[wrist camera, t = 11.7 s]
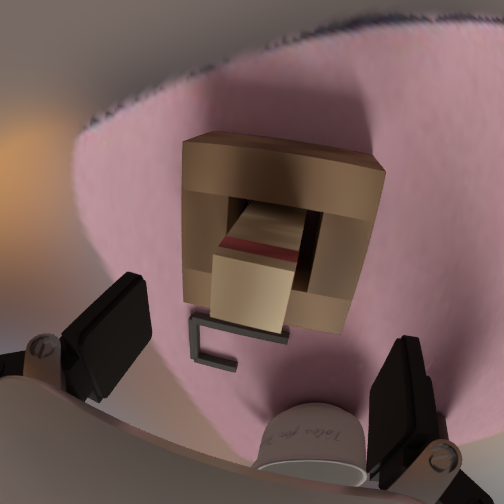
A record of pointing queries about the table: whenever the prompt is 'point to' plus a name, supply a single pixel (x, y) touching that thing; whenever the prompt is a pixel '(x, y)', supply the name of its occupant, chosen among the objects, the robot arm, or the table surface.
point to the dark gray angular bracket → (228, 327)
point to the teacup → (315, 445)
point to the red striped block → (257, 266)
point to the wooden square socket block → (284, 193)
